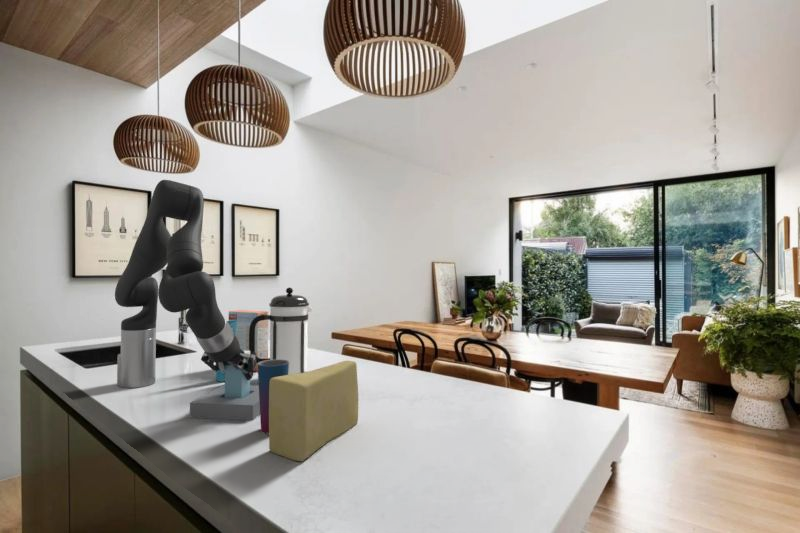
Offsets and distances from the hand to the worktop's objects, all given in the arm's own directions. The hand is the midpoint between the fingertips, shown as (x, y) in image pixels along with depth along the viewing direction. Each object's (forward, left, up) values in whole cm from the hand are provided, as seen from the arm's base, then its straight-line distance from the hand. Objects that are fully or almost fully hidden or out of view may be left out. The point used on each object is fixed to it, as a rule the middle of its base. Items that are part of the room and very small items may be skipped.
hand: (241, 376), depth 110 cm
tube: (-17, +23, -8) cm, 30 cm away
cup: (+15, -15, -8) cm, 22 cm away
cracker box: (-17, +39, -8) cm, 43 cm away
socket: (0, -2, -7) cm, 8 cm away
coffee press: (+1, +28, -8) cm, 29 cm away
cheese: (+28, -18, -8) cm, 34 cm away
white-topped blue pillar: (0, -2, -5) cm, 5 cm away
